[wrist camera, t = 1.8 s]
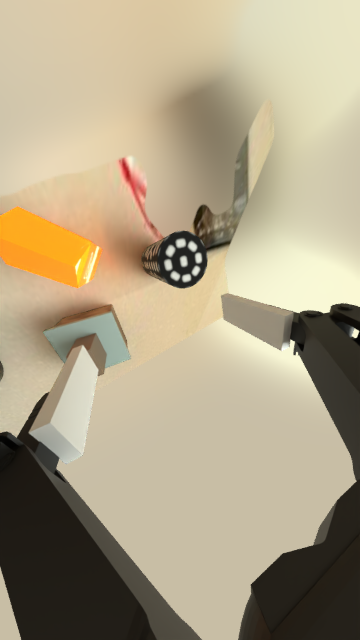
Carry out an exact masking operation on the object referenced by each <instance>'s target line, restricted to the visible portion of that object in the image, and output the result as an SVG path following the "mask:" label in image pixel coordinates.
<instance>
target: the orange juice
mask: <svg viewBox="0 0 360 640" xmlns="http://www.w3.org/2000/svg"><path fill="white" fill-rule="evenodd" d="M101 252H102V249H101V248H99V247H98V246H96V245H94V244H93V243H91V241H89V240H87V239H85V238H83V237H81V236H79V235H77V234H74V233H72V232H70V231H68V230H66V229H64V228H62V227H60V226H58V225H56V224H53V223H51V222H49V221H47V220H45V219H43V218H41V217H39V216H37V215H35V214H32V213H30V212H28V211H26V210H24V209H22V208H20V207H16V208H14V209H12V210H10V211H8V212H7V213H5V214H3V215H1V216H0V256H1V257H2V259H3V260H4V261H5V264H8V265H11V266H14V267H17V268H20V269H23V270H26V271H29V272H31V273H34V274H37V275H40V276H43V277H46V278H49V279H52V280H55V281H58V282H61V283H64V284H67V285H70V286H73V287H76V288H79V287H81V286H82V285H84V284H86V283H88V282H89V281H90V280H92V279H93V277H94V274H95V271H96V268H97V265H98V261H99V258H100V255H101Z"/></svg>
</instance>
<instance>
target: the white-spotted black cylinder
mask: <svg viewBox="0 0 360 640" xmlns="http://www.w3.org/2000/svg"><path fill="white" fill-rule="evenodd" d="M142 265H143V268H144V270H145V271H146V272H147V273H148V274H149V275H151V276H153V277H155V278H157V279H159V280H161V281H163V282H165V283H167V284H169V285H172V286H174V287H177V288H189V287H191V286H193V285H195V284H196V283H197V282H198V281H200V279H201V278H202V277H203V275H204V273H205V271H206V267H207V251H206V248H205V246H204V244H203V242H202V241H201V240H200V238H199V237H198V236H196V235H195V234H193V233H191V232H188V231H178V232H174V233H172V234H170V235H169V236H167V237H165V238H163V239H161V240H160V241H158V242H156V243H154V244H152V245H151V246H149V247H147V248H146V249H145V251H144V252H143V255H142Z"/></svg>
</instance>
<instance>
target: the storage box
mask: <svg viewBox="0 0 360 640" xmlns="http://www.w3.org/2000/svg"><path fill="white" fill-rule="evenodd" d="M109 311H112V313H113V316H114V318H115V321H116V323H117V325H118V328H119V330H120V332H121V335H122V337H123V340H124V342H125V344H126V347H127V340H126V337H125V335H124V333H123V330H122V328H121V325H120V323H119V320H118V318H117V316H116V313H115V311H114V308H113V306H112V305H108V306H105V307H101V308H98V309H94V310H90V311H87V312H83V313H80V314H76V315H72V316H69V317H65V318H63V319H62V320H61V321H60V322H59V323H57V324H56V325H55V326H54V327H57V326H60V325H64V324H67V323H71V322H74V321H77V320H81V319H84V318H88V317H91V316H95V315H98V314H102V313H105V312H109Z"/></svg>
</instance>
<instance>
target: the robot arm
mask: <svg viewBox="0 0 360 640" xmlns="http://www.w3.org/2000/svg"><path fill="white" fill-rule="evenodd" d="M221 298H222V308H223V318H224V320H226V321H228V322H230V323H231V324H233V325H235V326H237V327H238V328H240V329H242V330H244V331H246V332H248V333H250V334H251V335H253V336H255V337H257V338H259V339H261V340H263V341H264V342H266V343H268V344H270V345H271V346H273V347H275V348H277V349H279V350H281V351H282V350H284V349H286V348H288V347H289V346H290V339H291V340H293V341H295V345H294V355H296V352H298V355H299V356H300V357H301V359H302V361H303V363H304V365H305V367H306V369H307V371H308V373H309V375H310V377H311V378H312V381H313V383H314V385H315V387H316V389H317V391H318V392H319V394H320V396H321V398H322V400H323V402H324V404H325V406H326V408H327V410H328V412H329V414H330V416H331V418H332V420H333V421H334V424H335V426H336V427H337V429H338V431H339V433H340V435H341V437H342V439H343V441H344V443H345V445H346V447H347V449H348V451H349V453H350V455H351V458H352V463H353V471H354V475H355V478H356V481H357V482H356V483H354V484H353V485H352V486H351V488H349V489H348V490H347V491H346V492H345V493H344V494H343V495H342V496H341V497H340V498H339V499H338V500H337V502H336V503H335V504H334V506H333V507H332V509H331V510H330V512H329V513H328V515H327V516H326V518H325V519H324V521H323V522H322V524H321V525H320V527H319V530H318V533H317V536H316V539H315V542H314V545H313V546H309V547H305V548H302V549H298V550H294V551H291V552H287V553H283V554H282V555H281V556H280V557H279V558H278V559H277V560H276V561H275V562H274V563H273V564H271V565H270V566H269V567H268V568H267V570H265V571H264V572H263V573H262V574H261V575H260V576H259V577H258V578H257V579H256V580H255V581H254V582H253V583H252V584H251V596H250V598H249V600H248V603H247V605H246V608H245V612H244V615H243V618H242V622H241V627H240V633H239V639H238V640H360V307H358V306H355V305H350V304H343V303H341V304H335V305H332V306H331V309H330V312H329V313H322V312H319V311H302V312H300V313H296V312H293V311H289V310H286V309H281V308H279V307H275V306H272V305H267V304H263V303H260V302H256V301H253V300H249V299H246V298H242V297H239V296H235V295H232V294H228V293H227V294H224V295H221ZM354 328H355V329H357V330H359V334H358V337H357V338H354V337H352V334H353V331H354ZM97 376H98V368H97V367H96V365H95V363H94V362H93V360H92V359H91V357H90V355H89V354H88V352H87V350H86V349H85V347H84V345H81V346H78V347H76V348H73V349H72V351H71V353H70V355H69V356H68V358H67V360H66V362H65V364H64V366H63V368H62V370H61V372H60V374H59V375H58V377H57V379H56V381H55V383H54V385H53V387H52V389H51V391H50V392H48V393H46V394H45V395H44V396H43V397H42V398H41V399H40V400H39V401H38V402H37V404H36V405H35V407H34V409H33V411H32V413H31V414H30V416H29V417H28V420H27V421H26V423H25V424H24V426H23V428H22V430H21V431H20V433H19V435H18V437H17V438H16V437H15V436H13V435H12V434H11V433H9V432H2V433H0V567H1V571H2V574H3V577H4V581H5V585H6V588H7V591H8V595H9V598H10V602H11V605H12V609H13V612H14V616H15V619H16V623H17V626H18V629H19V633H20V637H21V640H202V639H201V638H200V637H199V636H198V635H197V634H196V633H195V632H194V630H193V629H192V628H191V627H190V626H189V625H188V624H187V623H185V622H184V621H183V620H182V619H181V618H180V617H179V616H178V615H177V614H176V613H175V611H174V610H173V609H172V608H171V607H170V606H169V605H168V603H167V602H166V601H165V600H164V598H163V597H162V596H161V595H160V593H159V592H158V591H157V590H156V589H155V587H154V586H153V585H152V584H151V582H150V581H149V580H148V579H147V578H146V576H145V575H144V574H143V573H142V571H141V570H140V569H139V568H138V567H137V565H136V564H135V563H134V562H133V560H132V559H131V558H130V557H129V556H128V555H127V553H126V552H125V551H124V549H123V548H122V547H121V546H120V545H119V544H118V542H117V541H116V540H115V539H114V537H113V536H112V535H111V534H110V533H109V531H108V530H107V529H106V528H105V526H104V525H103V524H102V523H101V521H100V520H99V519H98V518H97V517H96V515H95V514H94V513H93V512H92V511H91V509H90V508H89V507H88V506H87V505H86V503H85V502H84V501H83V500H82V499H81V497H80V496H79V495H78V494H77V492H76V491H75V490H74V489H73V488H72V487H71V485H70V484H69V482H68V481H67V480H66V479H65V478H64V476H63V475H62V474H61V473H60V472H59V471H58V470H57V469H56V467H57V464H58V461H59V459H60V460H62V462H64V463H65V464H68V463H70V462H72V461H73V460H75V459H77V458H79V457H81V456H83V453H84V447H85V442H86V436H87V430H88V425H89V420H90V414H91V409H92V403H93V397H94V392H95V387H96V381H97ZM2 377H3V366H2V364H1V362H0V381H1V379H2Z"/></svg>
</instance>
